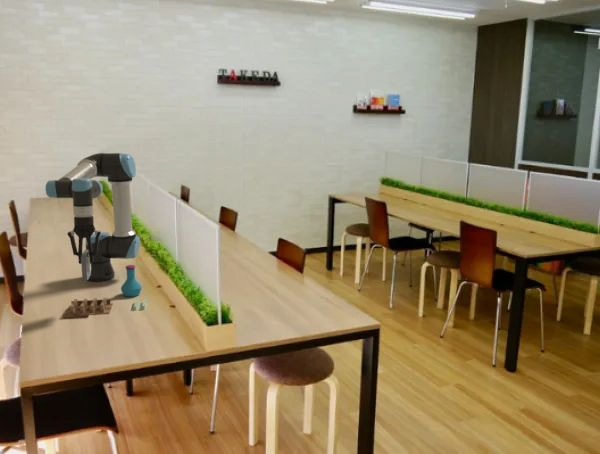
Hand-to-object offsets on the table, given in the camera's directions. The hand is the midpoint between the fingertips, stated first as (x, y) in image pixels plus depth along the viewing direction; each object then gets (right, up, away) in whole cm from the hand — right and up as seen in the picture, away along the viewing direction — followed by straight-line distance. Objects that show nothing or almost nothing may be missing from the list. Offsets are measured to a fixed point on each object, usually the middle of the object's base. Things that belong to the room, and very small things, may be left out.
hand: (86, 270), depth 232 cm
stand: (+20, -17, +10) cm, 28 cm away
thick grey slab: (0, -3, +1) cm, 3 cm away
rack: (0, -18, +4) cm, 18 cm away
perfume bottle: (+11, -14, +25) cm, 31 cm away
